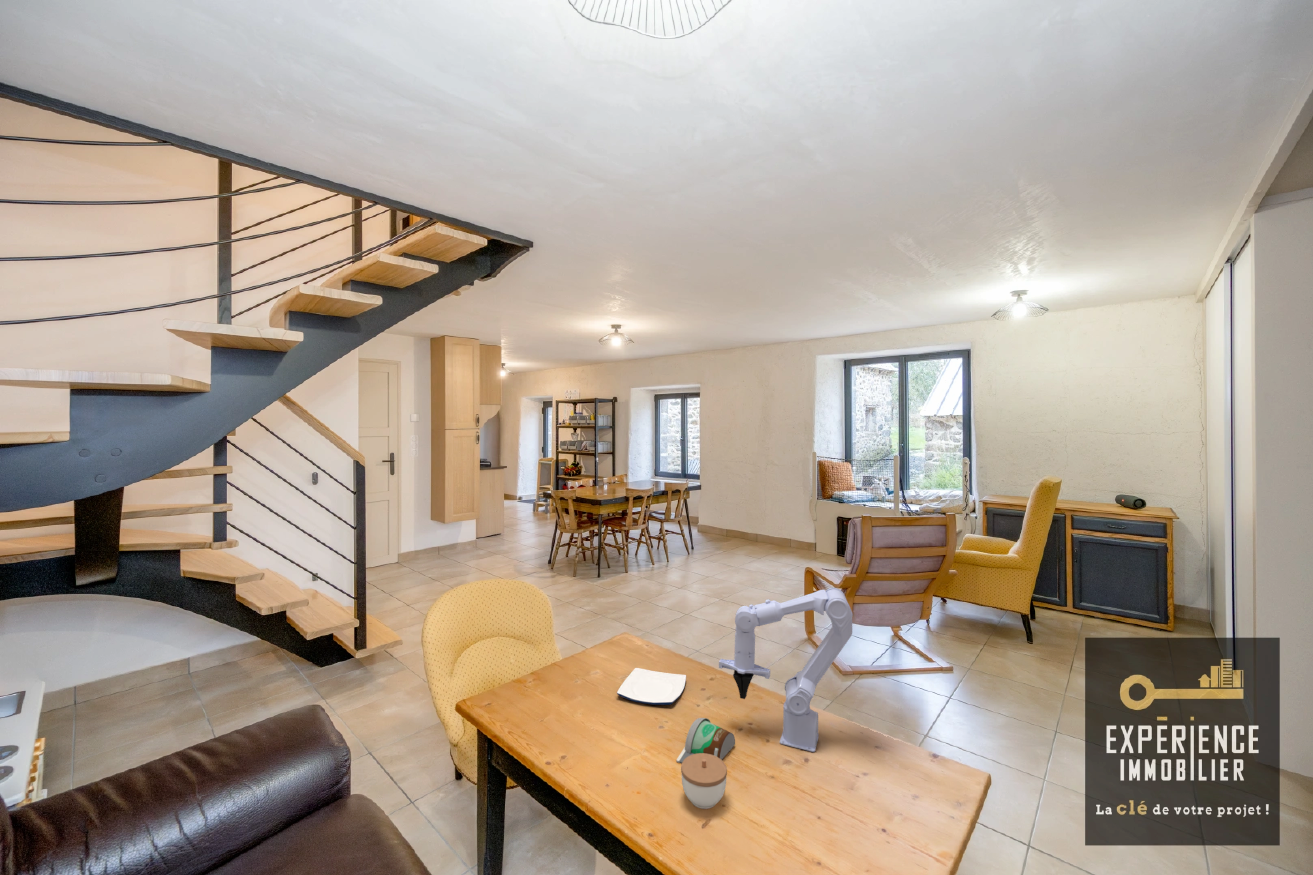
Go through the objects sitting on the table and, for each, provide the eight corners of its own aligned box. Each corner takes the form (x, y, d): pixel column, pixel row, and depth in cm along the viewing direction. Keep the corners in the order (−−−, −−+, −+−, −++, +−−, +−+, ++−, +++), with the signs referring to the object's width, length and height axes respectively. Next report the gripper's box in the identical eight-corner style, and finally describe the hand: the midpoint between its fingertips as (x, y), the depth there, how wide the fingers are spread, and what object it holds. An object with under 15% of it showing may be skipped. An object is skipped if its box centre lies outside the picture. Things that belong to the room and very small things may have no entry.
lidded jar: (697, 777, 129) (698, 740, 129) (735, 797, 122) (735, 758, 122) (671, 801, 121) (672, 761, 121) (710, 824, 114) (710, 781, 114)
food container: (717, 741, 133) (684, 728, 139) (716, 765, 133) (683, 750, 139) (737, 719, 144) (706, 708, 149) (737, 741, 144) (705, 729, 149)
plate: (612, 702, 165) (612, 693, 165) (634, 673, 185) (634, 665, 185) (674, 712, 159) (674, 704, 159) (689, 681, 179) (689, 674, 179)
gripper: (716, 650, 147) (714, 697, 147) (767, 660, 141) (765, 710, 142) (723, 641, 154) (722, 686, 154) (772, 650, 148) (770, 698, 148)
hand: (743, 697), depth 148 cm, fingers closed
